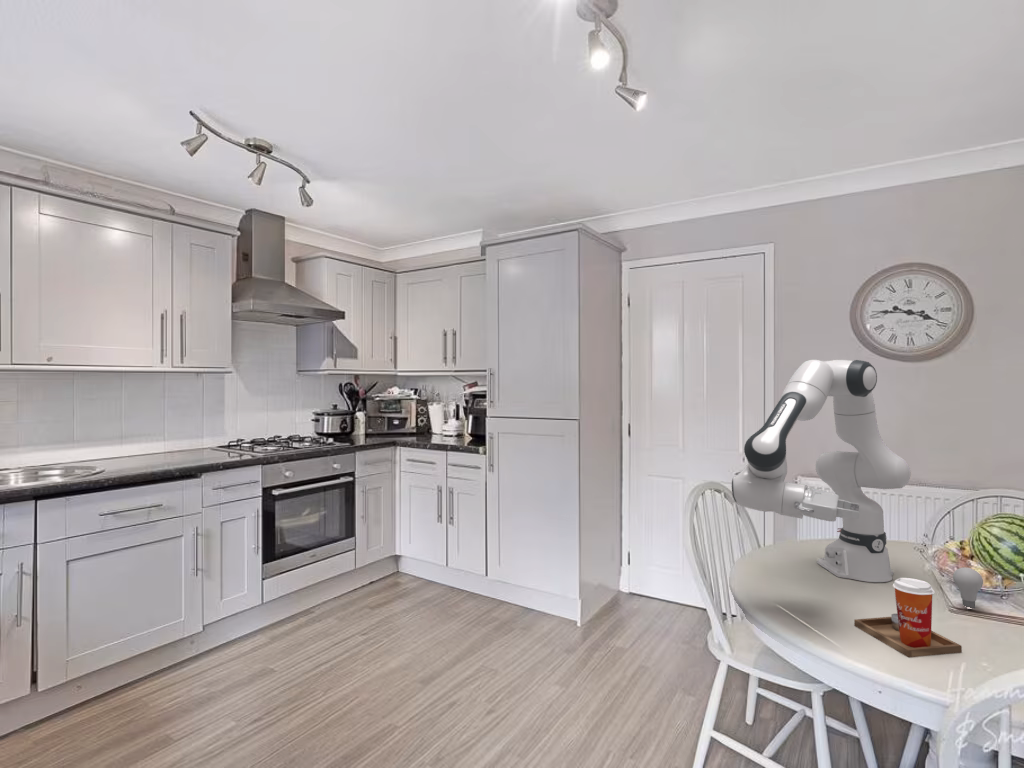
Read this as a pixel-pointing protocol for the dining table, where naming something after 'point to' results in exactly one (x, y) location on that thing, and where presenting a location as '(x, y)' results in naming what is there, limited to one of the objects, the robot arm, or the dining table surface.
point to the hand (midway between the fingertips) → (859, 511)
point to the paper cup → (914, 611)
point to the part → (895, 622)
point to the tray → (891, 637)
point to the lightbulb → (968, 585)
